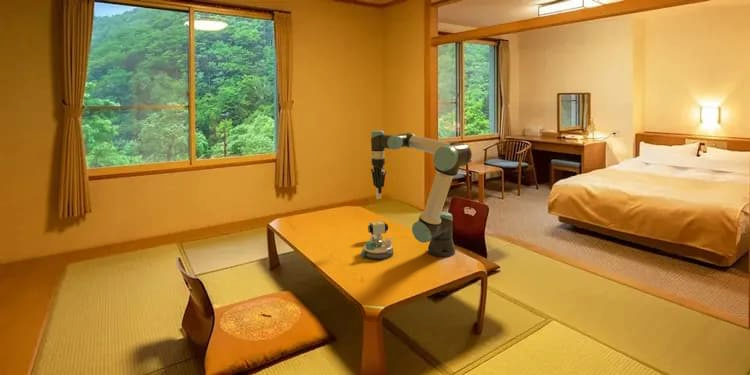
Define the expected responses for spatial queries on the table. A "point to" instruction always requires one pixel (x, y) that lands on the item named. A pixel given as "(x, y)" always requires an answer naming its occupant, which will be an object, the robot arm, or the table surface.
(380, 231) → the pneumatic valve
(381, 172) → the robot arm
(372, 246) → the lathe chuck
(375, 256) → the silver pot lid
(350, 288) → the table surface
